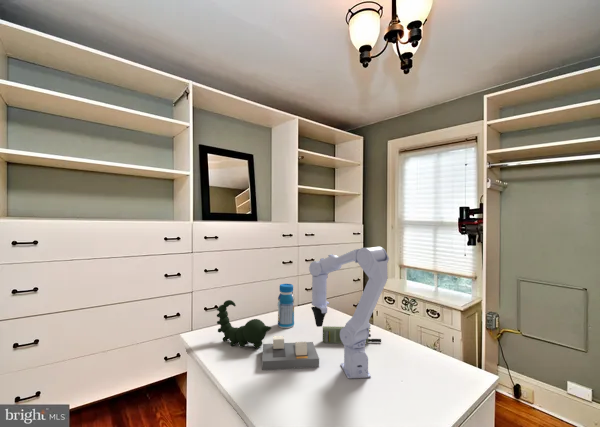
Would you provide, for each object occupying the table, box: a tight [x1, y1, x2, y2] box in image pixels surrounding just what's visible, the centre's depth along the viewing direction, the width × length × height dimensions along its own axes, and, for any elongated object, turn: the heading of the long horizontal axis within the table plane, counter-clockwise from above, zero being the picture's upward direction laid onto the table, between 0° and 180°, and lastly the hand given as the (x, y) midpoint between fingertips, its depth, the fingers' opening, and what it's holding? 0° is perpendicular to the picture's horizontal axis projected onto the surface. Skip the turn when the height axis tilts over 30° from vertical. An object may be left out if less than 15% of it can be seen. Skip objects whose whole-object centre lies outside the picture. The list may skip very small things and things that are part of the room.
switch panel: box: [261, 341, 320, 371], centre depth 106 cm, size 14×20×3 cm
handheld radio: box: [322, 325, 382, 344], centre depth 121 cm, size 7×3×25 cm
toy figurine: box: [216, 299, 272, 349], centre depth 118 cm, size 9×19×25 cm
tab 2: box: [294, 341, 307, 356], centre depth 104 cm, size 3×4×4 cm
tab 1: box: [272, 335, 285, 349], centre depth 109 cm, size 3×4×4 cm
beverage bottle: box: [277, 283, 296, 329], centre depth 140 cm, size 8×8×20 cm
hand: (319, 325), depth 112 cm, fingers closed
